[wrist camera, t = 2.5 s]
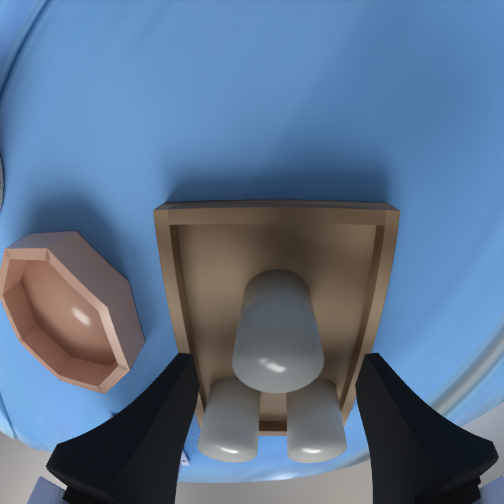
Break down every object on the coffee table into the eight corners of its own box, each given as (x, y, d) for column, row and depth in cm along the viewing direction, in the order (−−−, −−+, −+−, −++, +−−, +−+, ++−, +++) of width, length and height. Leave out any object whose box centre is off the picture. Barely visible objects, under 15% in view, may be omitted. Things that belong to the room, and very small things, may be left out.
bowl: (156, 374, 21) (144, 402, 18) (50, 351, 22) (35, 371, 19) (118, 229, 16) (91, 248, 13) (8, 235, 17) (-17, 248, 14)
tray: (339, 417, 22) (341, 432, 20) (204, 416, 23) (200, 431, 21) (387, 202, 14) (400, 210, 13) (165, 202, 15) (153, 210, 14)
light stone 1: (260, 408, 21) (257, 463, 16) (213, 405, 21) (202, 459, 16) (260, 378, 19) (256, 440, 14) (207, 375, 20) (192, 434, 14)
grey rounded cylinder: (307, 325, 17) (317, 392, 12) (244, 325, 17) (234, 392, 12) (312, 269, 16) (329, 328, 11) (241, 268, 16) (228, 328, 11)
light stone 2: (331, 406, 20) (339, 460, 15) (284, 408, 21) (285, 464, 16) (340, 376, 19) (353, 435, 14) (287, 378, 19) (289, 440, 14)
